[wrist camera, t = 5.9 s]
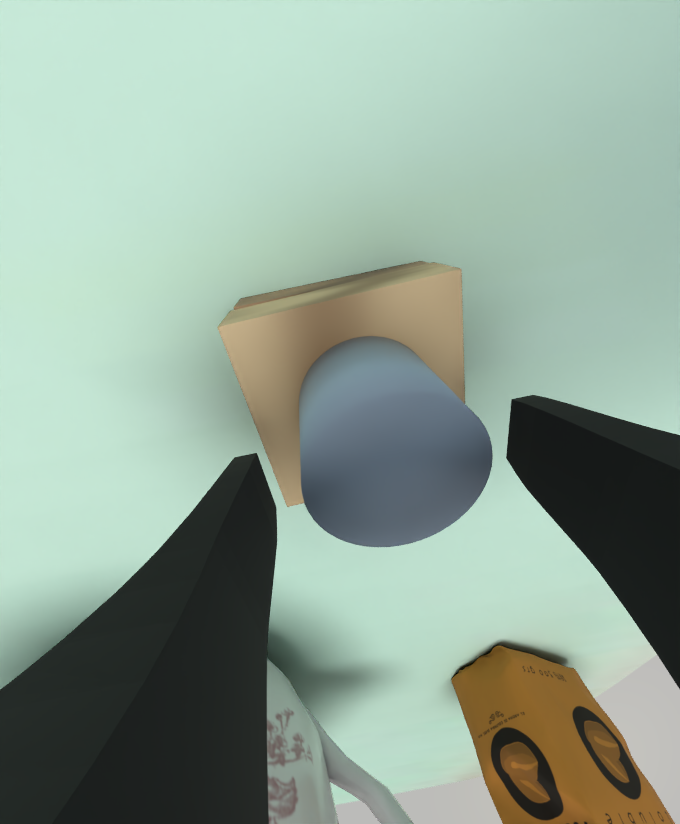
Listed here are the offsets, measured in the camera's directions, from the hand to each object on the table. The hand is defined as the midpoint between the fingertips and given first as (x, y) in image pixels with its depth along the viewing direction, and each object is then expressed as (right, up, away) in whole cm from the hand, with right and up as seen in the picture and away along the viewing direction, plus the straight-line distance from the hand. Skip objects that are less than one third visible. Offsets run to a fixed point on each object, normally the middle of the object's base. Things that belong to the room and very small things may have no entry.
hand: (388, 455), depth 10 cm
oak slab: (-1, +3, +5) cm, 6 cm away
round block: (0, +2, +3) cm, 4 cm away
